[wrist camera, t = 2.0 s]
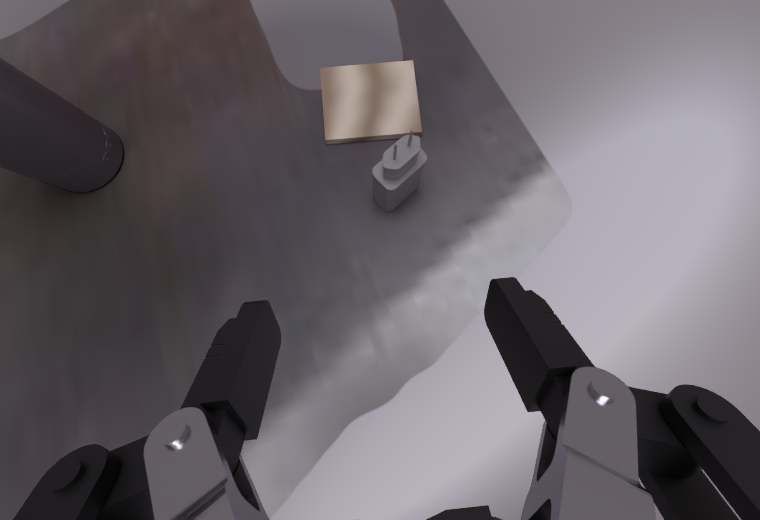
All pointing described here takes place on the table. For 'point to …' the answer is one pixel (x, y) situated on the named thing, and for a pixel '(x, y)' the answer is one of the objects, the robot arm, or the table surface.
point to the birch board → (370, 102)
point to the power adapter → (398, 172)
